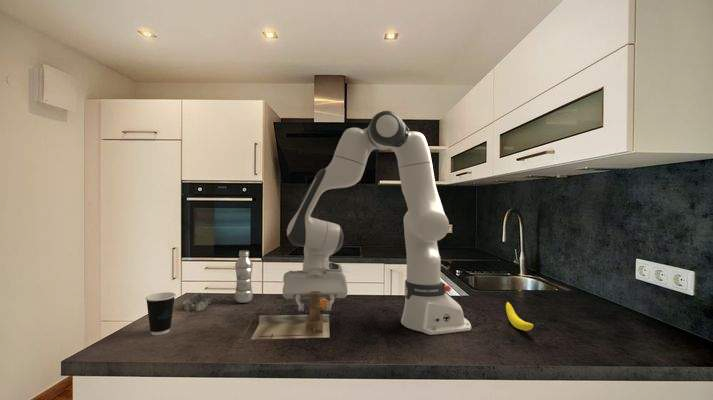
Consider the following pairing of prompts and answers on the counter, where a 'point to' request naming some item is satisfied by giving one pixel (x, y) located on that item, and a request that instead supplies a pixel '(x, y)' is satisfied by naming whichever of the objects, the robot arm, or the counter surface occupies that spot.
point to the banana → (517, 319)
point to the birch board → (287, 327)
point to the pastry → (323, 303)
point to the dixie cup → (160, 312)
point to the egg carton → (197, 302)
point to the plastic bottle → (243, 277)
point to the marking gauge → (314, 314)
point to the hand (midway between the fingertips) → (314, 310)
